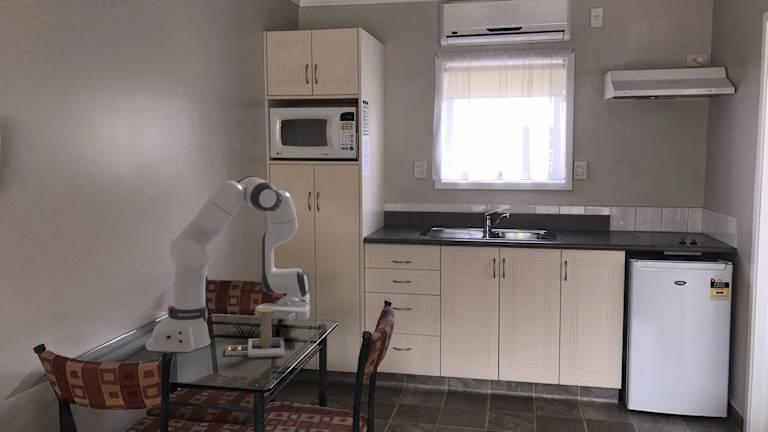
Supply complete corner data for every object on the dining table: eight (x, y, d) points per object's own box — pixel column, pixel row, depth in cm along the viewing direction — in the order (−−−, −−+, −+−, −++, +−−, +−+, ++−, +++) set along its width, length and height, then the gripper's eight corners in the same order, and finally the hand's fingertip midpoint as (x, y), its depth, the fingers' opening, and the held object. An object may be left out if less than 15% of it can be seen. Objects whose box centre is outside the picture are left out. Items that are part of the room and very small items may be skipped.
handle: (273, 353, 231) (273, 312, 229) (255, 352, 231) (254, 311, 229) (276, 348, 235) (276, 308, 233) (259, 347, 236) (259, 307, 234)
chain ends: (224, 358, 225) (224, 351, 224) (226, 346, 237) (226, 339, 236) (284, 356, 228) (284, 348, 228) (283, 344, 240) (283, 337, 240)
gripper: (262, 297, 255) (248, 307, 242) (313, 301, 251) (301, 311, 238) (263, 313, 256) (248, 323, 243) (313, 317, 252) (301, 328, 239)
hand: (275, 317), depth 240 cm, fingers open, 8 cm apart
